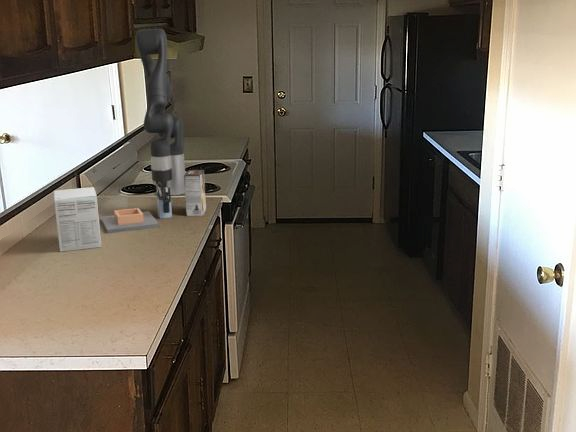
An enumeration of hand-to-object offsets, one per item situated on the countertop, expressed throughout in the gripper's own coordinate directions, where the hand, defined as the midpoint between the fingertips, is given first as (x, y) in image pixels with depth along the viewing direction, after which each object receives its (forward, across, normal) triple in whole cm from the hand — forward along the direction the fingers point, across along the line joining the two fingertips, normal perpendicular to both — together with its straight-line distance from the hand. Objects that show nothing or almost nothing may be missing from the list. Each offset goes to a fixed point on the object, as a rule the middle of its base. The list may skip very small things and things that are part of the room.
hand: (164, 210), depth 245 cm
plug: (+2, 0, 0) cm, 2 cm away
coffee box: (+3, +1, +12) cm, 12 cm away
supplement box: (+3, +21, -33) cm, 39 cm away
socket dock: (+2, +4, -14) cm, 15 cm away
